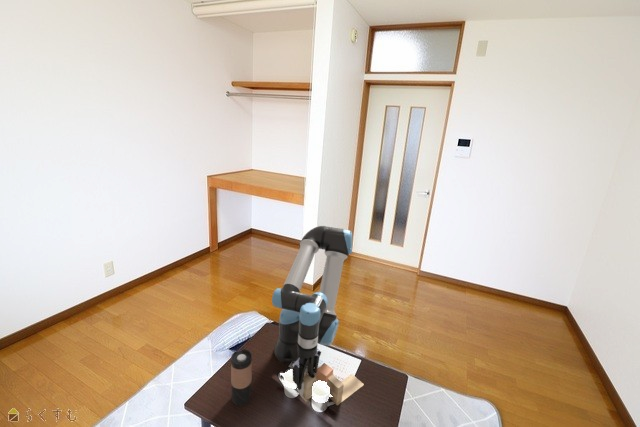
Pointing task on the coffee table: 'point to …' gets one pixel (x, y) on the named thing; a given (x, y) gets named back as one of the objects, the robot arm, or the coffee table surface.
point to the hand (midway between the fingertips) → (304, 391)
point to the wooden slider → (308, 386)
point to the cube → (324, 372)
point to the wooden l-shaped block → (343, 387)
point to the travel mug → (241, 377)
